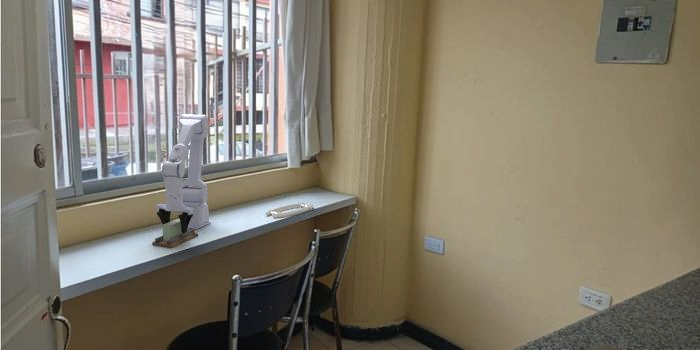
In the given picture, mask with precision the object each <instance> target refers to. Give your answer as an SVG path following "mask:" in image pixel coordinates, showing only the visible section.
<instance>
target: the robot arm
mask: <svg viewBox="0 0 700 350" xmlns="http://www.w3.org/2000/svg"><path fill="white" fill-rule="evenodd" d="M178 125H179V130H180V132H179V136H178V139H177V144H174V145H173V146H172V149H171V151H170V154H169V156H168V159H167V160H166V161H165V162H163V163H162V167H161V176H162V178H163V183H165V203H157V204H156V208H155V209H156V211H157V212H156V215H157V217H158V218H159V220H160V222H161V223H162V226H163V224H166V223H168V222H171V215H172V213H178V214H179V213H180V214H179V215H178V217H177V218H178V219H180V223H181V232H182V233H186V232H187V229H188V230H189V229H195V230H198V229H200V228H202V227H205V226H207V225H210V224H211V221H210V218H209V217H210V214H209V212H210V211H209V210H210V209H209V206H208V204H207V201H208V198H209V193H208V184H207V183H206V182H205V181H203V180H202V165H203V164H202V163H203V150H204V149H203V148H204V139H206V137H208V134H209V127H210V126H209V125H210V122H209V118H208V116H207V115H206V114H193V113H192V114H187V113H182V114H180V115H179V117H178ZM188 146H189V149H188ZM188 154H189V157H188ZM187 158H189V159H188V171H187V179H186V180H184V181H183V178H184V175H185V173H186V160H187Z"/></svg>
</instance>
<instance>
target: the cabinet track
mask: <svg viewBox="0 0 700 350" xmlns="http://www.w3.org/2000/svg"><path fill="white" fill-rule="evenodd" d="M198 236H199V233H198V232H196V229H193V228H191V229H190V230H188V232H186V233H183V234H181V235H179V236H176V237H174V238H172V239H169V240H167V242H166V241H163V234H162V235H160V236H158V237H156V238H154V241H152V242H151V244H152V246H156V247H161V248H169V249H173V248H175V247H177V246H179V245H181V244H184V243H185V242H188V241H190V240H192V239H194V238H197V237H198Z"/></svg>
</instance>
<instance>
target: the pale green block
mask: <svg viewBox="0 0 700 350" xmlns="http://www.w3.org/2000/svg"><path fill="white" fill-rule="evenodd" d="M188 231H189V228H188V229H187V232H188ZM181 234H183V233H182V232H181V223H180V219H179V218H177V219H173V220H170V222H168V223H166V224H163V225H162V235H163V241H166V242H167V240H169V239H172V238H174V237H176V236H179V235H181Z"/></svg>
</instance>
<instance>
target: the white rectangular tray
mask: <svg viewBox="0 0 700 350" xmlns="http://www.w3.org/2000/svg"><path fill="white" fill-rule="evenodd" d="M296 207H298V208H299V209H298V208H297V209H296ZM300 207H301V208H300ZM291 208H292V209H296V210H291ZM312 209H314V205H312V204H306V203H305V202H302V201H301V202H298V203H292V204H287V205H282V206H279V207H278V206H277V207H276V208H273V209H268V211H266V212H264V213H265V216H266V217H269V216H272V218H274V219H280V218H287V217H290V216H291V215H292V216H296V215H299V213H300V214H302V213H305V212H308V211H312ZM287 210H290V211H287ZM283 211H285V212H283ZM292 216H291V217H292Z"/></svg>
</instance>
